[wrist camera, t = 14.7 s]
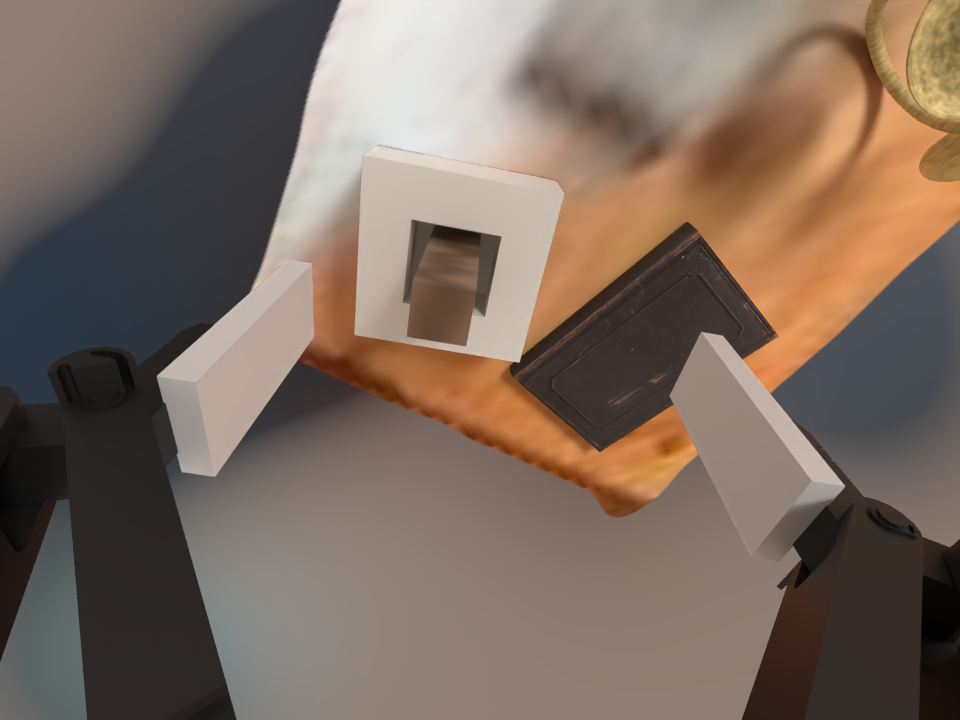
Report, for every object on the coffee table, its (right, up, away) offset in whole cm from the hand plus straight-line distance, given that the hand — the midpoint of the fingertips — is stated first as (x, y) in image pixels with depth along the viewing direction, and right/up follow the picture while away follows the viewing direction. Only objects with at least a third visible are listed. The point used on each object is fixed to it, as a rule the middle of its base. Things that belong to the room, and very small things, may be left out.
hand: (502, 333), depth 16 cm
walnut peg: (-3, +10, +29) cm, 30 cm away
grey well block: (-3, +10, +29) cm, 31 cm away
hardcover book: (+16, +1, +35) cm, 39 cm away
